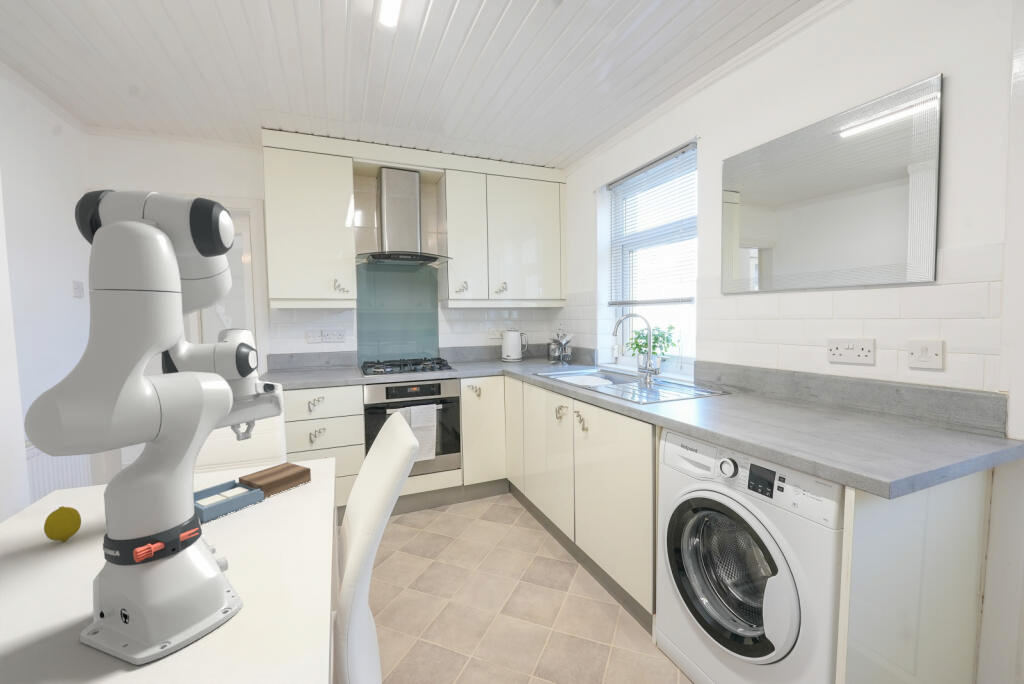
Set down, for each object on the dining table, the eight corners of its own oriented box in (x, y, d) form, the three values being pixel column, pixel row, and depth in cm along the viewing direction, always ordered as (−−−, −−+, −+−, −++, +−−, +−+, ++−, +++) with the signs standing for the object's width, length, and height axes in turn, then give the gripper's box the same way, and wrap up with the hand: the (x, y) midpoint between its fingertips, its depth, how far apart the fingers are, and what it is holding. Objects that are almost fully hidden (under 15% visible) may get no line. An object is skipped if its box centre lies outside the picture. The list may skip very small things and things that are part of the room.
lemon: (43, 551, 87) (40, 515, 86) (48, 541, 91) (45, 506, 90) (80, 541, 90) (77, 506, 90) (84, 532, 94) (81, 498, 94)
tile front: (204, 505, 101) (204, 513, 101) (226, 498, 105) (227, 505, 106) (195, 501, 104) (195, 509, 104) (217, 494, 108) (217, 501, 108)
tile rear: (249, 497, 110) (249, 490, 110) (229, 504, 106) (229, 497, 106) (240, 493, 113) (239, 486, 113) (220, 500, 109) (219, 493, 108)
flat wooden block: (311, 481, 122) (310, 468, 121) (262, 500, 110) (261, 485, 109) (287, 474, 128) (287, 462, 127) (239, 491, 116) (238, 477, 115)
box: (264, 500, 109) (263, 488, 109) (203, 523, 97) (202, 509, 97) (237, 490, 116) (236, 478, 116) (178, 511, 104) (177, 497, 104)
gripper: (200, 396, 100) (205, 451, 100) (283, 383, 117) (287, 431, 118) (189, 395, 103) (193, 448, 103) (271, 383, 120) (275, 429, 121)
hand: (244, 439), depth 111 cm, fingers closed
